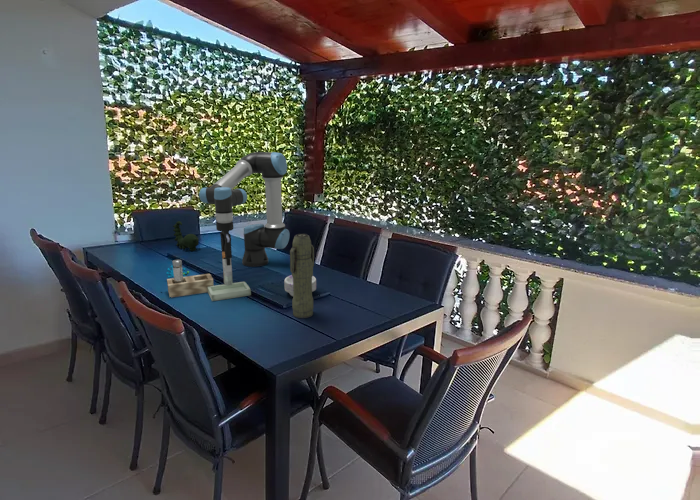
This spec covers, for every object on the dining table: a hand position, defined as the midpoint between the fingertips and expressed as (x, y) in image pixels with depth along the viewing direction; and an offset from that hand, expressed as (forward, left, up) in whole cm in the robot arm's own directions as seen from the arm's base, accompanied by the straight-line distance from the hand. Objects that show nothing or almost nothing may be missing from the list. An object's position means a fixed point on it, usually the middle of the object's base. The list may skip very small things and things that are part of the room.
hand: (227, 269), depth 199 cm
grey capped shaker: (+21, -12, -12) cm, 27 cm away
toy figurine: (+9, -92, -12) cm, 93 cm away
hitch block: (+16, -12, -12) cm, 23 cm away
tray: (0, 0, -12) cm, 12 cm away
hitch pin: (0, 0, -7) cm, 7 cm away
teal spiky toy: (+20, -31, -12) cm, 39 cm away
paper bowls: (-31, +14, -12) cm, 36 cm away
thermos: (-24, +36, -12) cm, 45 cm away
